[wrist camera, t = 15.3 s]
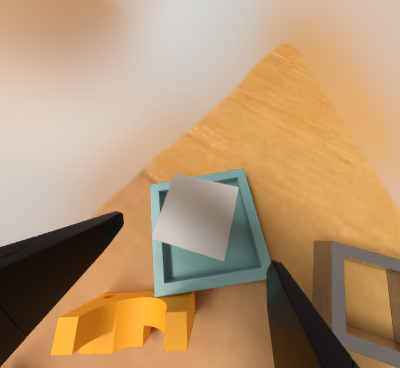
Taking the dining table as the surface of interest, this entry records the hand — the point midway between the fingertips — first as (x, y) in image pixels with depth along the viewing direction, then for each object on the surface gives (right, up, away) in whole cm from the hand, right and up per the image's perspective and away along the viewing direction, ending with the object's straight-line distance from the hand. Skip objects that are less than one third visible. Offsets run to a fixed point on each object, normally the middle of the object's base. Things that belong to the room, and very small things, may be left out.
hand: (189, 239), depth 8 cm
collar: (+19, -10, +9) cm, 23 cm away
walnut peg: (+1, -3, +12) cm, 13 cm away
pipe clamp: (-6, -13, +10) cm, 18 cm away
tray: (+1, -3, +13) cm, 13 cm away
